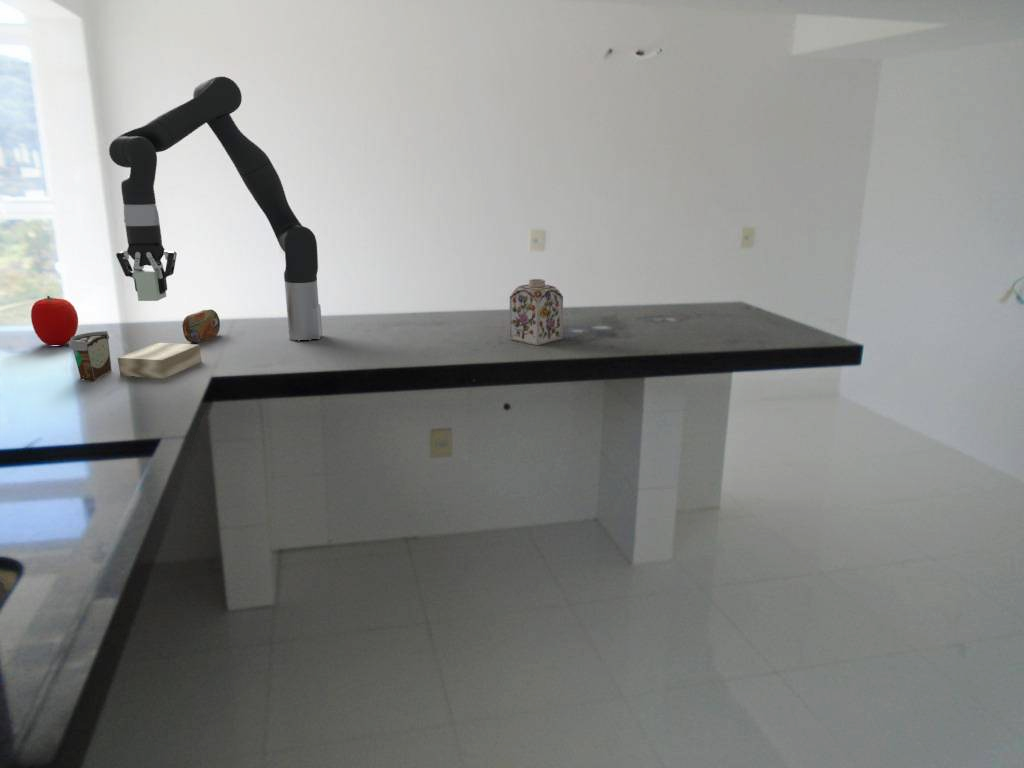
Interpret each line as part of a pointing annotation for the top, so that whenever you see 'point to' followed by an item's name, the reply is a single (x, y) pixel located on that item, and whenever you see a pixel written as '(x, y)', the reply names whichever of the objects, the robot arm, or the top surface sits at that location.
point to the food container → (92, 354)
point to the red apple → (54, 320)
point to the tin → (201, 326)
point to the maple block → (159, 360)
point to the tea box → (148, 285)
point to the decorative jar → (536, 313)
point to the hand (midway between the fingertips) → (151, 293)
